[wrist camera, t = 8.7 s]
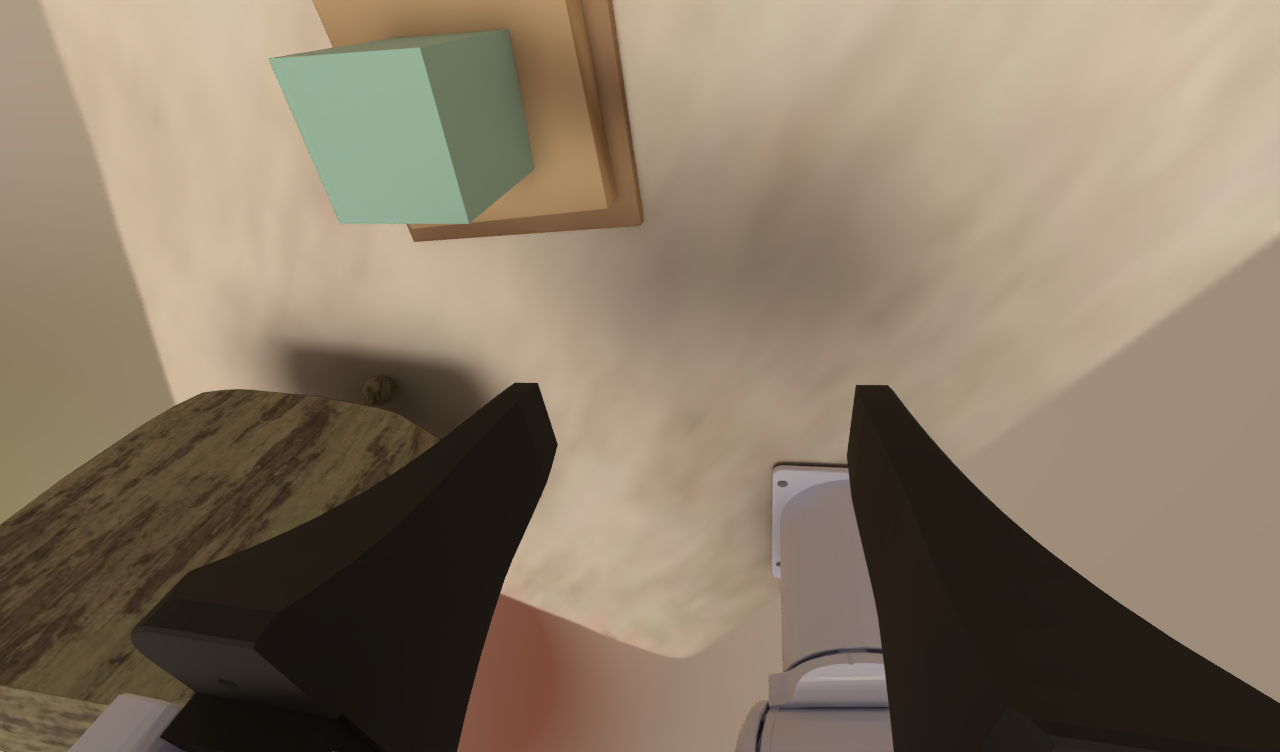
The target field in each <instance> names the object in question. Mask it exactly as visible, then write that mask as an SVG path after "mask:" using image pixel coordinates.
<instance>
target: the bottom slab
mask: <svg viewBox="0 0 1280 752" xmlns="http://www.w3.org/2000/svg"><path fill="white" fill-rule="evenodd" d="M581 5H582V10H583V15H584V20H585V26H586V31H587V36H588V42H589V47H590V52H591V58H592V63H593V68H594V73H595V79H596V84H597V89H598V95H599V100H600V105H601V110H602V116H603V121H604V126H605V132H606V137H607V142H608V148H609V153H610V158H611V164H612V169H613V174H614V180H615V185H616V190H617V196H616V197H615V199H614V200H613V202H612V203H611V204H610V206H609V207H608V209H598V210H589V211H579V212H569V213H560V214H550V215H541V216H531V217H521V218H512V219H502V220H492V221H483V222H473V223H469V224H454V225H444V226H434V227H425V228H415V229H412V228H411V226H410V224H407V226H408V228H409V231H410V233H411V236H412V238H413V240H414V242H419V241H433V240H447V239H460V238H474V237H488V236H502V235H515V234H529V233H543V232H557V231H570V230H584V229H598V228H612V227H625V226H639V225H641V223H642V221H643V215H642V208H641V201H640V194H639V187H638V180H637V173H636V166H635V159H634V152H633V145H632V138H631V131H630V124H629V117H628V110H627V103H626V97H625V90H624V83H623V76H622V69H621V62H620V55H619V48H618V41H617V34H616V27H615V20H614V13H613V6H612V0H581Z"/></svg>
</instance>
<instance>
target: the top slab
mask: <svg viewBox="0 0 1280 752" xmlns="http://www.w3.org/2000/svg"><path fill="white" fill-rule="evenodd" d="M312 1H313V3H314V5H315V7H316V10H317V12H318V14H319V17H320V19H321V21H322V24H323V26H324V28H325V30H326V33H327V35H328V37H329V40H330V42H331V44H332V47H333V48H335V47H341V46H347V45H353V44H359V43H364V42H370V41H376V40H382V39H388V38H400V37H413V36H426V35H438V34H451V33H464V32H477V31H489V30H502V29H508V30H509V36H510V41H511V46H512V52H513V57H514V62H515V68H516V73H517V78H518V83H519V89H520V94H521V99H522V105H523V110H524V115H525V121H526V126H527V131H528V137H529V142H530V147H531V152H532V158H533V163H534V168H535V169H534V170H533V171H532V172H531V173H529V174H528V175H527V176H526V177H525V178H523V179H522V180H521V181H520V182H519V183H517V184H516V185H515V186H514V187H513V188H511V189H510V190H509V191H508V192H507V193H505V194H504V195H503V196H502V197H501V198H499V199H498V200H497V201H496V202H495V203H493V204H492V205H491V206H490V207H489V208H487V209H486V210H485V211H484V212H483V213H481V214H480V215H479V216H478V217H477V218H475V219H474V220H473V221H472V222H471V223H473V222H483V221H492V220H502V219H512V218H521V217H531V216H541V215H550V214H560V213H569V212H579V211H589V210H598V209H608V207H609V206H610V204H611V203H612V202H613V200H614V199H615V197H616V196H617V190H616V185H615V180H614V174H613V169H612V164H611V158H610V153H609V148H608V142H607V137H606V132H605V126H604V121H603V116H602V110H601V105H600V100H599V95H598V89H597V84H596V79H595V73H594V68H593V63H592V58H591V52H590V47H589V42H588V36H587V31H586V26H585V20H584V15H583V10H582V5H581V0H312ZM444 225H454V224H410V226H411V228H412V229H415V228H425V227H434V226H444Z"/></svg>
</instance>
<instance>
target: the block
mask: <svg viewBox="0 0 1280 752" xmlns="http://www.w3.org/2000/svg"><path fill="white" fill-rule="evenodd" d="M269 61H270V64H271V66H272V68H273V71H274V73H275V75H276V78H277V80H278V82H279V85H280V87H281V89H282V91H283V94H284V96H285V98H286V101H287V103H288V105H289V108H290V110H291V112H292V114H293V117H294V119H295V121H296V124H297V126H298V128H299V131H300V133H301V135H302V137H303V140H304V142H305V144H306V147H307V149H308V151H309V154H310V156H311V158H312V160H313V163H314V165H315V167H316V170H317V172H318V174H319V177H320V179H321V181H322V184H323V186H324V188H325V190H326V193H327V195H328V197H329V200H330V202H331V204H332V207H333V209H334V211H335V213H336V216H337V218H338V220H339V223H340V224H469V223H471V222H472V221H473V220H474V219H475V218H477V217H478V216H479V215H480V214H481V213H483V212H484V211H485V210H486V209H487V208H489V207H490V206H491V205H492V204H493V203H495V202H496V201H497V200H498V199H499V198H501V197H502V196H503V195H504V194H505V193H507V192H508V191H509V190H510V189H511V188H513V187H514V186H515V185H516V184H517V183H519V182H520V181H521V180H522V179H523V178H525V177H526V176H527V175H528V174H529V173H531V172H532V171H533V170H534V169H535V168H534V163H533V158H532V152H531V147H530V142H529V137H528V131H527V126H526V121H525V115H524V110H523V105H522V99H521V94H520V89H519V83H518V78H517V73H516V68H515V62H514V57H513V52H512V46H511V41H510V36H509V30H508V29H502V30H489V31H477V32H464V33H451V34H438V35H426V36H413V37H400V38H388V39H382V40H376V41H370V42H364V43H359V44H353V45H347V46H341V47H335V48H329V49H323V50H317V51H311V52H305V53H299V54H293V55H287V56H281V57H275V58H269Z"/></svg>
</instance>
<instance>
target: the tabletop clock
mask: <svg viewBox="0 0 1280 752" xmlns="http://www.w3.org/2000/svg"><path fill="white" fill-rule="evenodd" d="M395 393H396V390H395V386H394V385H393V383H392V381H391V380H390V379H388V378H386V377H383V376H376V377H373V378H370V379H368V380H367V382H366V383H365V385H364V386H363V389H362V394H363V396H364V397H365V399H366V403H365V404H364V405H359V404H354V403H349V402H343V401H338V400H333V399H328V398H322V397H317V396H307V395H298V394H288V393H278V392H268V391H258V390H244V389H234V390H220V391H212V392H204V393H201V394H199V395H197V396H195V397H192V398H190V399H188V400H186V401H184V402H182V403H180V404H178V405H176V406H174V407H172V408H170V409H169V410H167V411H165V412H163V413H162V414H160V415H158V416H157V417H155V418H153V419H151V420H150V421H148V422H146V423H145V424H143V425H142V426H140V427H139V428H137V429H136V430H134V431H133V432H131V433H130V434H128V435H127V436H125V437H124V438H122V439H121V440H119V441H118V442H116V443H115V444H113V445H112V446H110V447H109V448H107V449H106V450H104V451H103V452H102V453H100V454H98V455H97V456H95V457H94V458H92V459H91V460H89V461H88V462H86V463H85V464H83V465H82V466H80V467H79V468H77V469H76V470H74V471H73V472H72V473H70V474H68V475H67V476H65V477H64V478H63V479H61V480H60V481H58V482H57V483H56V484H54V485H53V486H52V487H50V488H49V489H48V490H46V491H45V492H44V493H42V494H41V495H40V496H38V497H37V498H36V499H35V500H33V501H32V502H30V503H29V504H27V505H26V506H25V507H24V508H22V509H21V510H20V511H18V512H17V513H15V514H14V515H13V516H11V517H10V518H9V519H8V520H6V521H5V522H3V523H2V524H1V525H0V750H2V751H4V752H67V751H68V750H69V749H70V748H71V747H72V746H73V745H74V744H75V743H76V741H77V740H78V739H79V738H80V737H81V736H82V735H83V734H84V733H85V732H86V730H87V729H88V728H89V727H90V726H91V725H92V724H93V723H94V722H95V721H96V719H97V718H98V717H99V716H100V715H101V714H102V713H103V712H104V711H105V710H106V709H107V707H108V706H109V705H110V704H111V703H112V702H113V701H114V700H115V699H116V698H117V696H118V695H120V694H124V693H129V694H134V695H139V696H144V697H149V698H154V699H158V700H163V701H167V702H170V703H173V704H175V705H178V706H180V707H182V708H183V707H184V706H185V705H186V704H187V702H188V701H189V700H190V699H191V697H192V696H193V695H194V694H195V693H196V692H195V691H193V690H192V689H190V688H189V687H188V686H186V685H185V684H183V683H182V682H180V681H179V680H177V679H176V678H175V677H173V676H172V675H170V674H169V673H167V672H166V671H164V670H163V669H162V668H160V667H159V666H157V665H156V664H154V663H153V662H152V661H150V660H149V659H148V658H146V657H145V656H144V655H143V654H141V653H140V652H139V651H138V650H137V649H136V648H135V646H134V645H133V644H132V641H131V638H130V632H131V631H132V629H133V628H134V627H135V626H136V625H137V624H138V623H139V622H140V621H141V620H142V619H143V618H144V617H145V616H146V615H147V614H148V612H149V611H150V610H151V609H152V608H153V607H154V606H155V605H156V604H157V603H158V602H159V601H160V600H161V599H162V598H163V597H164V596H165V595H166V594H167V593H168V592H169V591H170V590H171V589H172V588H173V587H174V586H175V585H176V584H177V583H178V582H179V581H180V580H181V579H182V578H183V577H184V576H185V575H186V574H187V573H188V572H189V571H191V570H194V569H197V568H199V567H202V566H205V565H207V564H210V563H212V562H215V561H217V560H220V559H222V558H225V557H227V556H230V555H233V554H235V553H238V552H240V551H243V550H245V549H248V548H250V547H253V546H255V545H257V544H260V543H262V542H264V541H267V540H269V539H271V538H273V537H276V536H278V535H280V534H282V533H284V532H287V531H289V530H291V529H293V528H295V527H297V526H299V525H301V524H304V523H306V522H308V521H310V520H312V519H314V518H316V517H318V516H320V515H322V514H323V513H325V512H327V511H329V510H331V509H333V508H335V507H336V506H338V505H340V504H342V503H344V502H346V501H348V500H349V499H351V498H353V497H355V496H357V495H359V494H360V493H362V492H364V491H366V490H367V489H369V488H371V487H372V486H374V485H376V484H377V483H379V482H380V481H382V480H384V479H385V478H387V477H388V476H390V475H392V474H393V473H395V472H396V471H398V470H399V469H401V468H402V467H404V466H405V465H407V464H408V463H410V462H411V461H413V460H414V459H415V458H417V457H418V456H419V455H421V454H422V453H424V452H425V451H426V450H428V449H429V448H430V447H432V446H433V445H435V444H436V443H437V442H439V441H440V439H438V438H437V437H435V436H433V435H432V434H430V433H428V432H427V431H425V430H424V429H422V428H420V427H419V426H417V425H415V424H414V423H412V422H411V421H409V420H407V419H406V418H404V417H402V416H401V415H399V414H396V413H394V412H391V411H388V410H384V409H380V408H375V407H376V406H383V405H385V404H388V403H390V401H391V400H392V399H393V397H394V396H395Z"/></svg>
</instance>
